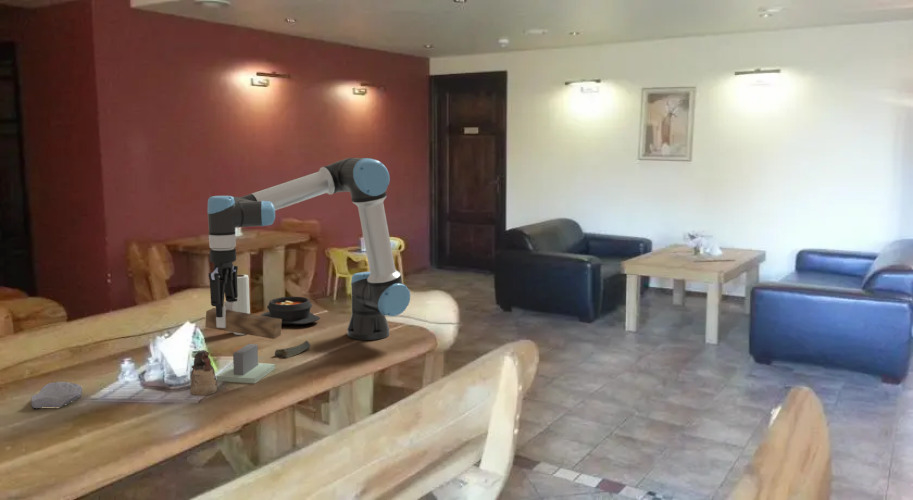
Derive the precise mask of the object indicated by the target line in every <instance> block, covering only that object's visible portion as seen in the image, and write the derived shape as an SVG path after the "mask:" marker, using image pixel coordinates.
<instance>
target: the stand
mask: <svg viewBox="0 0 913 500" xmlns="http://www.w3.org/2000/svg"><path fill="white" fill-rule="evenodd" d="M258 347H259V346H258V344H256V343H255V344H253V343H251V344H250V343H248V344H247V345H244V346H242V347H241V348H240V349H237V350H236V351H235V352H233V354H232V357H233V359H232V360H233V362H232V363H233V365H231V366H229V367H227V368H226V369H225V370H223V371H222V372H220V373H219V374H217V375H215V376H216V381H217V382H226V383H228V382H229V383H240V384H241V383H242V384H243V383H244V384H257V383H258V382H259V381H261V380H262V379H263V378H264V377H266V376H267V375H268V374H270V373H271V372H272V371H274V370H275V369H276V366H275V365H276V364H275V363H264V362H259V351H258V349H259V348H258Z"/></svg>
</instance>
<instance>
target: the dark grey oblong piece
mask: <svg viewBox="0 0 913 500" xmlns="http://www.w3.org/2000/svg"><path fill="white" fill-rule="evenodd" d="M310 348H311V343H310V342H309V341H308V340H305V341H304V342H302V343H300V344H298V345H294V346H291V347H287V348H280V349H276V350H275V352H274V356H275V357H276V358H278V357H282V358H284V359H289V358H290V359H291V358H292V357H295V356H297V355H299V354H301V353H303V352H306V351H310Z"/></svg>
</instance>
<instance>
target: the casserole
mask: <svg viewBox="0 0 913 500" xmlns="http://www.w3.org/2000/svg"><path fill="white" fill-rule="evenodd" d="M312 306H313V304H312V303H311V300H310V299H309V298H306V297H303V296H281V297H276V298H273V299H271V300H270V301H269V303H268V305H267V306H266V307H267V310H268V311H267V312H264V313H261V314H260V316H266V317H273V318H279V319H282V324H281V326H295V325H307V324H311V323H314V322H317V321H319V320H320V319H321V317H320V316H317V315H315V314H314V313H312V312H311V308H312Z"/></svg>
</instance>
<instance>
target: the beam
mask: <svg viewBox="0 0 913 500" xmlns="http://www.w3.org/2000/svg"><path fill="white" fill-rule="evenodd" d="M260 315H261V314H260ZM260 315H259V314H254V313H250V314H248V313H242V312H236V311H230V310H226V328H217V327H216V307H212V308H211V309H207V310H206V312H205V326H204V327H205V328H208V329H214V330H218V331H224V332H228V331H230V332H231V333H233V332H236V333H241V334H245V335H249V336H255V337H261V338H266V339H273V340H275V339H277V338H278V337H281V334H282V325H281V324H282V319H279V318H273V317H266V316H260Z"/></svg>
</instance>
